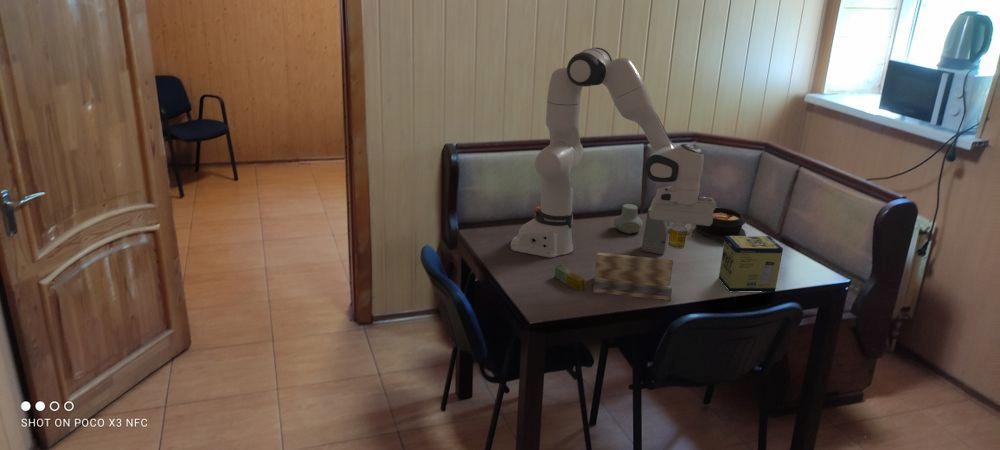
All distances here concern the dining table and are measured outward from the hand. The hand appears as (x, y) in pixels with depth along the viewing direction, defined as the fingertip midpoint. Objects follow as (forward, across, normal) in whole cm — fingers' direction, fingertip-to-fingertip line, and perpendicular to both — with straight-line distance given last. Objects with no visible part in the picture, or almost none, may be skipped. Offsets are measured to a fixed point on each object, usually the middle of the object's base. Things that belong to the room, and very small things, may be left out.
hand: (677, 234), depth 238 cm
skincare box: (+14, +5, -19) cm, 24 cm away
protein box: (+14, -24, +4) cm, 28 cm away
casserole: (+14, -20, -42) cm, 49 cm away
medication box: (+15, +33, +17) cm, 40 cm away
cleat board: (+14, +13, +16) cm, 25 cm away
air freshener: (+15, +15, -36) cm, 42 cm away
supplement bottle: (+5, 0, 0) cm, 5 cm away
